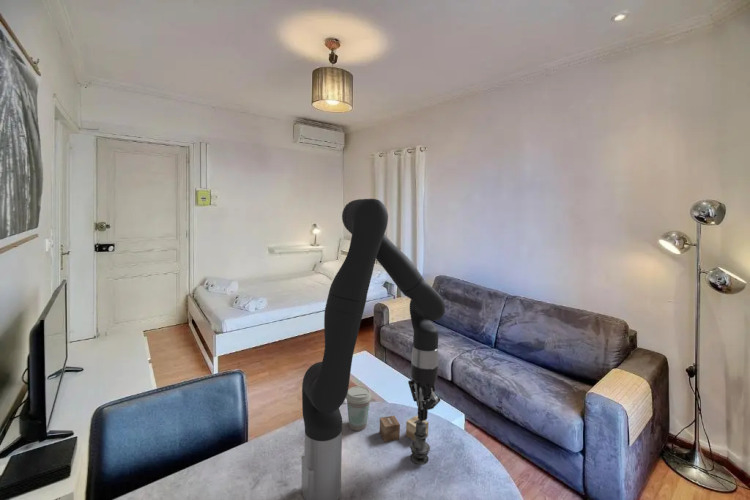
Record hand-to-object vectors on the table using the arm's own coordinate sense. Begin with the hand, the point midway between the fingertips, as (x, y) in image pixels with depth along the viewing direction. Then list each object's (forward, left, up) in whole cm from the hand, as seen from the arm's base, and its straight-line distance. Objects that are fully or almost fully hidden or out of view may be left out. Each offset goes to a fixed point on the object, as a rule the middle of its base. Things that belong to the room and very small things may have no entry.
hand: (422, 419), depth 99 cm
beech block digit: (+5, +9, -12) cm, 16 cm away
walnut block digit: (-3, +13, -12) cm, 18 cm away
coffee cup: (-10, +22, -12) cm, 27 cm away
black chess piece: (0, 0, -12) cm, 12 cm away
